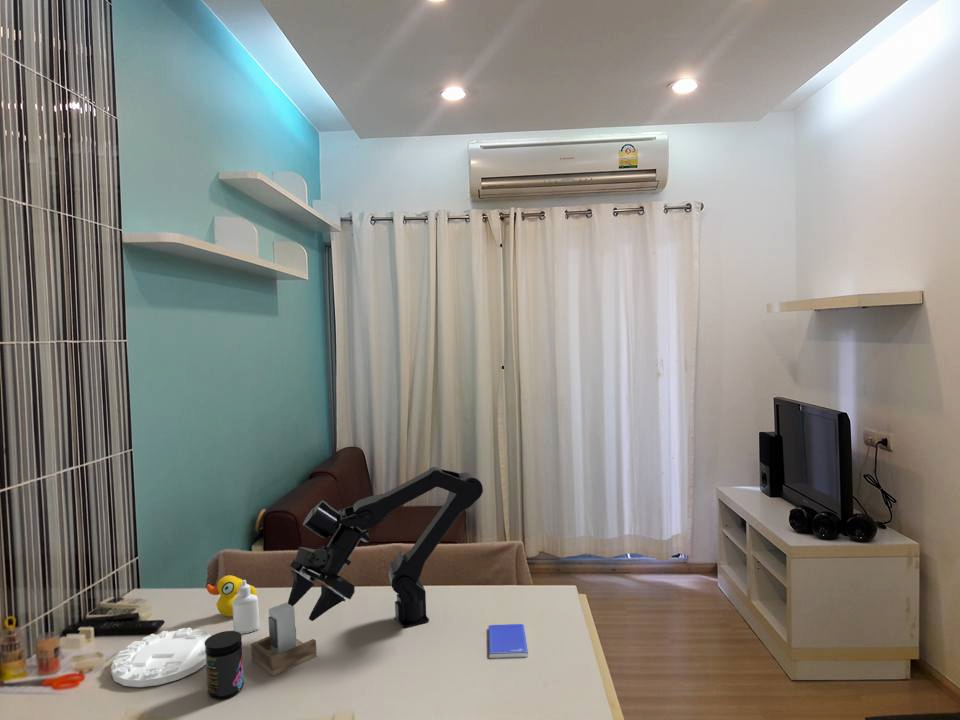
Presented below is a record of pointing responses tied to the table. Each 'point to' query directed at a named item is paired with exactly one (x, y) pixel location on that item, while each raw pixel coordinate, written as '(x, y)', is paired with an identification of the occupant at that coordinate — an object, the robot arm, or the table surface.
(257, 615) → the eye dropper bottle
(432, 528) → the robot arm
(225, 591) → the duckling
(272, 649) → the block
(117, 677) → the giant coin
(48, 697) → the table surface
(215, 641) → the supplement container
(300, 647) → the wooden tray
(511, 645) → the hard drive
